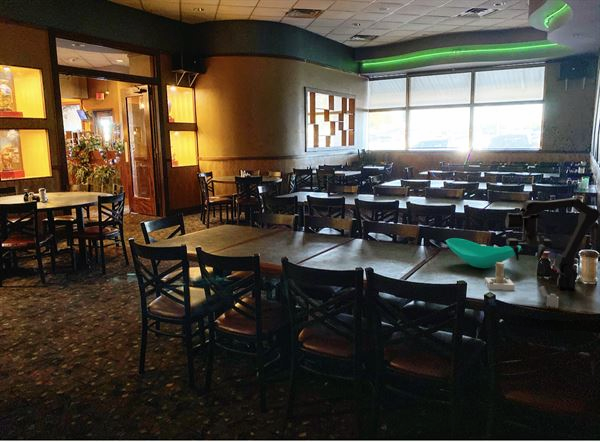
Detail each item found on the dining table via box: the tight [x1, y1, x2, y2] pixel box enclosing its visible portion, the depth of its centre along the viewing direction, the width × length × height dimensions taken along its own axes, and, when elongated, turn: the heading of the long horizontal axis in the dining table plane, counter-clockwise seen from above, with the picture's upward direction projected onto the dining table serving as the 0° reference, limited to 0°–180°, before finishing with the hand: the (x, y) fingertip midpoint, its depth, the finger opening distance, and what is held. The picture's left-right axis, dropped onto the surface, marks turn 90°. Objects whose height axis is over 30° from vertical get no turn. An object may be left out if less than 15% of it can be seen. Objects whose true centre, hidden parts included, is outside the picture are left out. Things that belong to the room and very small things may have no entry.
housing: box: [484, 276, 516, 291], centre depth 223 cm, size 11×11×3 cm
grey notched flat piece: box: [539, 285, 560, 309], centre depth 195 cm, size 7×2×8 cm, turn 47°
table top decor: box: [445, 237, 522, 269], centre depth 256 cm, size 40×28×13 cm
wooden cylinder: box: [494, 261, 505, 283], centre depth 222 cm, size 3×3×12 cm
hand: (528, 260), depth 218 cm, fingers open, 9 cm apart
